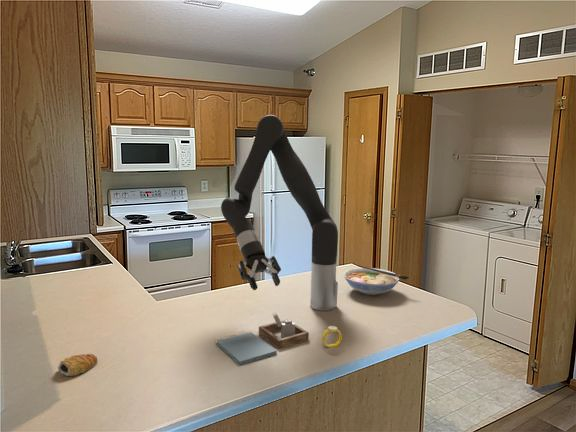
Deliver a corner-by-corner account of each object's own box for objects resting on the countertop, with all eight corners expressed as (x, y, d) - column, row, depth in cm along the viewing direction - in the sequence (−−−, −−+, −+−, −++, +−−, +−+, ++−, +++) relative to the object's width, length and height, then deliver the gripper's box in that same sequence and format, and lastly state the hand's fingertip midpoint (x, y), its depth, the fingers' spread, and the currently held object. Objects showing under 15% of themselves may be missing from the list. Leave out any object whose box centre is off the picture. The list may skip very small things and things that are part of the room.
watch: (338, 343, 135) (340, 325, 134) (342, 347, 132) (344, 329, 131) (320, 344, 133) (322, 326, 132) (323, 348, 130) (325, 329, 130)
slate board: (251, 334, 139) (251, 331, 139) (276, 353, 127) (276, 350, 127) (216, 343, 132) (216, 340, 132) (239, 364, 120) (239, 361, 120)
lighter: (293, 334, 140) (294, 310, 139) (294, 337, 138) (295, 312, 137) (271, 336, 138) (272, 312, 137) (272, 338, 137) (273, 314, 135)
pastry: (88, 358, 123) (87, 345, 122) (103, 365, 119) (102, 352, 119) (55, 372, 115) (55, 359, 114) (70, 380, 111) (70, 366, 111)
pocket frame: (287, 326, 146) (287, 319, 146) (308, 339, 136) (308, 332, 136) (258, 333, 140) (258, 326, 140) (279, 348, 130) (279, 340, 130)
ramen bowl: (329, 290, 183) (330, 271, 182) (363, 279, 198) (364, 262, 197) (378, 307, 165) (379, 286, 163) (412, 294, 180) (413, 275, 179)
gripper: (235, 242, 145) (252, 285, 138) (271, 238, 153) (289, 278, 146) (228, 254, 150) (244, 296, 143) (263, 249, 158) (280, 288, 151)
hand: (267, 287), depth 144 cm, fingers open, 8 cm apart
